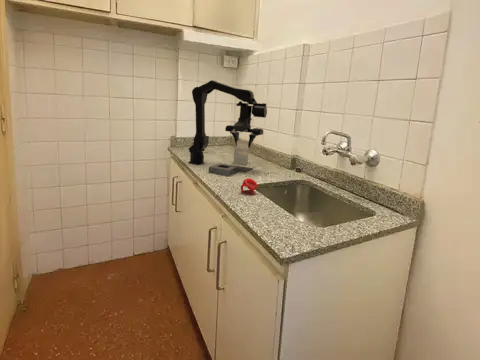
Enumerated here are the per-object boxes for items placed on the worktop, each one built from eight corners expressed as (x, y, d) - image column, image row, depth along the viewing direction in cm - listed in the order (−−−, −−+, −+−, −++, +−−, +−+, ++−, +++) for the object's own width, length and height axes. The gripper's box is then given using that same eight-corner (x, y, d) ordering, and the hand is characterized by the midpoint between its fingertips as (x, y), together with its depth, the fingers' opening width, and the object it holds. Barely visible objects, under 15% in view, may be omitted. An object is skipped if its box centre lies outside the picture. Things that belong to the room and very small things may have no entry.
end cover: (234, 155, 159) (235, 141, 157) (239, 153, 165) (240, 139, 163) (245, 157, 157) (246, 142, 155) (250, 155, 162) (251, 141, 160)
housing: (208, 172, 151) (208, 166, 150) (218, 168, 161) (219, 163, 160) (229, 176, 147) (229, 170, 146) (238, 172, 157) (238, 166, 156)
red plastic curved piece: (254, 189, 118) (261, 178, 122) (241, 181, 119) (247, 171, 123) (250, 200, 125) (256, 190, 128) (237, 193, 126) (244, 183, 129)
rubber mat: (229, 169, 160) (230, 168, 160) (236, 166, 168) (237, 165, 168) (246, 172, 157) (246, 171, 157) (252, 169, 165) (252, 168, 165)
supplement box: (245, 165, 174) (247, 142, 171) (232, 163, 175) (234, 141, 172) (248, 162, 181) (250, 141, 178) (235, 161, 182) (237, 139, 179)
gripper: (221, 114, 152) (219, 146, 156) (257, 118, 145) (254, 151, 149) (230, 114, 162) (229, 144, 166) (265, 117, 155) (262, 148, 159)
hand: (242, 146), depth 160 cm, fingers closed on end cover, 6 cm apart
